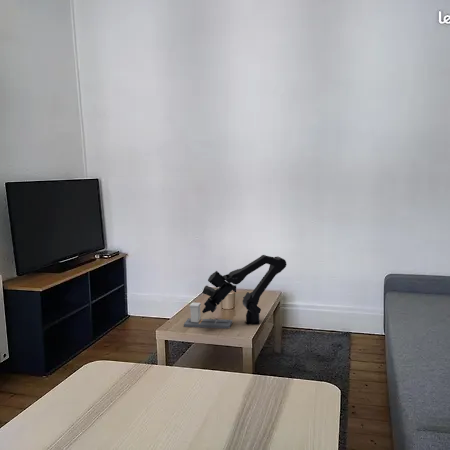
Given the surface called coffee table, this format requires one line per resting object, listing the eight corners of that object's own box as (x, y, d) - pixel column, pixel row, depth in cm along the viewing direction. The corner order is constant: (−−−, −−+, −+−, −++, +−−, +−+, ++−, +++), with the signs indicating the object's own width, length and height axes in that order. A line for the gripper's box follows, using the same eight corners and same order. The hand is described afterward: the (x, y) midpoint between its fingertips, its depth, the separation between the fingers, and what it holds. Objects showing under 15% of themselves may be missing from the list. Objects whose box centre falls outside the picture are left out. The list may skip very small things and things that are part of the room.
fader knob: (201, 319, 244) (200, 302, 243) (198, 322, 239) (198, 305, 237) (192, 318, 245) (192, 302, 244) (190, 322, 239) (189, 305, 238)
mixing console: (232, 322, 243) (232, 319, 243) (229, 328, 234) (229, 325, 234) (188, 321, 247) (188, 318, 247) (183, 326, 239) (183, 323, 238)
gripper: (215, 276, 246) (196, 296, 250) (207, 285, 228) (187, 307, 232) (230, 291, 246) (210, 310, 250) (223, 301, 228) (203, 322, 231)
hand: (202, 312), depth 241 cm, fingers closed
